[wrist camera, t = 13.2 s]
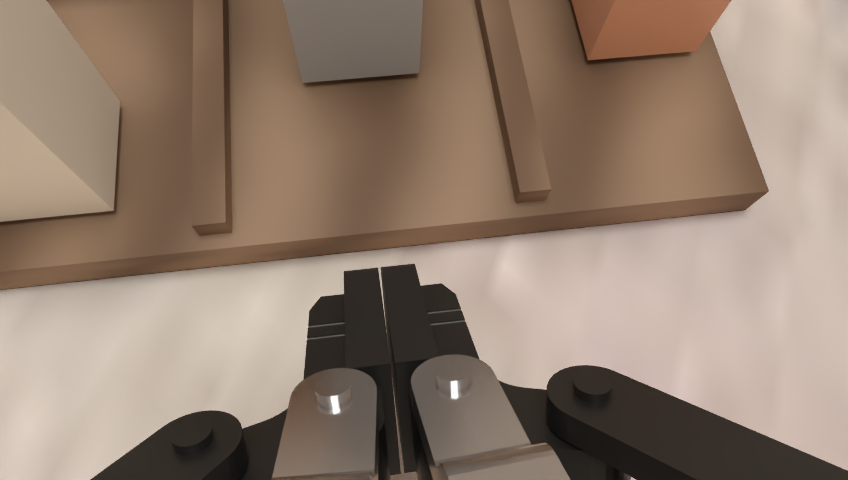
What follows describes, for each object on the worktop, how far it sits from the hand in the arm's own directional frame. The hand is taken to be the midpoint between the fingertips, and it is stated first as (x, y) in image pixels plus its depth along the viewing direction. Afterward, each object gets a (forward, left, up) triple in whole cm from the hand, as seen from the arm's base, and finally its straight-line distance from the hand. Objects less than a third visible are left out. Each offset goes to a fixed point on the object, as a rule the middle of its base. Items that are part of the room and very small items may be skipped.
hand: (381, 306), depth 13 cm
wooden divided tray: (+5, +8, -7) cm, 11 cm away
